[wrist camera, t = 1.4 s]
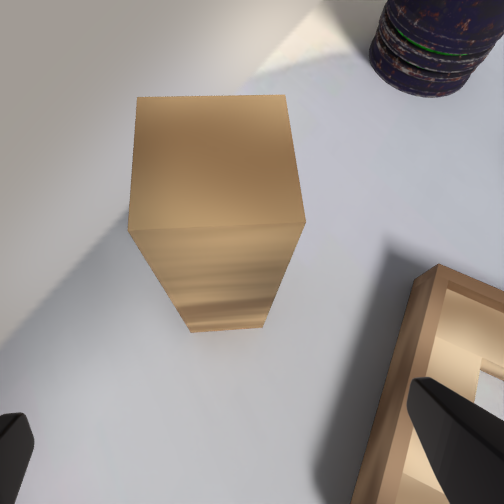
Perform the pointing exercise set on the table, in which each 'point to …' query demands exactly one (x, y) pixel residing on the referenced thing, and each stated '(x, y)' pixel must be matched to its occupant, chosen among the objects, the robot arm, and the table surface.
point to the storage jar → (434, 43)
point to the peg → (216, 204)
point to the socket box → (437, 367)
